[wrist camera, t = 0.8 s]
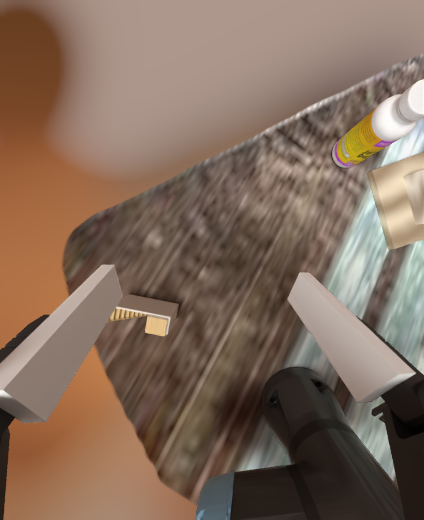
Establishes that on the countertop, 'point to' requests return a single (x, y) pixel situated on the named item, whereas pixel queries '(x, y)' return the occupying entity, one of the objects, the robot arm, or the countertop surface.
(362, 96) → the countertop surface
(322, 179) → the countertop surface
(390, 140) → the supplement bottle
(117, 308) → the model
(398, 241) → the bottle dock
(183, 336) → the countertop surface
